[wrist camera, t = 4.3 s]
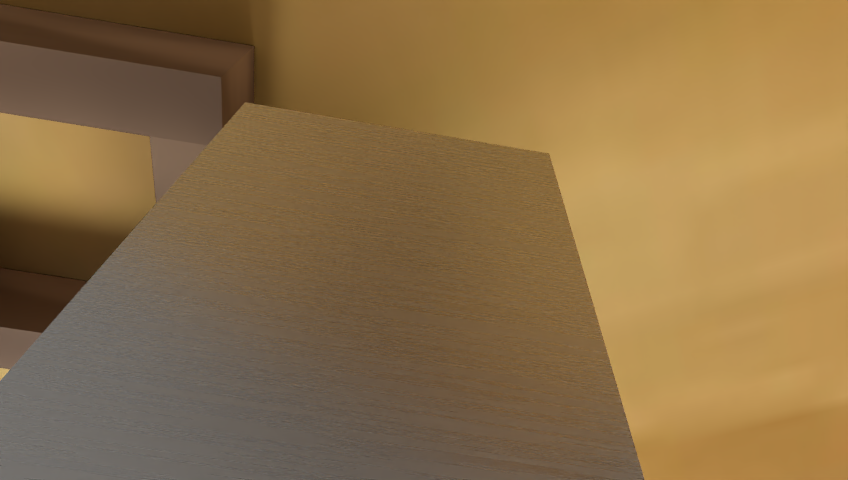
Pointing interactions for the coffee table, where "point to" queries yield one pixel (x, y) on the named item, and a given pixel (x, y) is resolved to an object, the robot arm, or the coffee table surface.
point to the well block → (110, 115)
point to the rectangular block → (329, 323)
